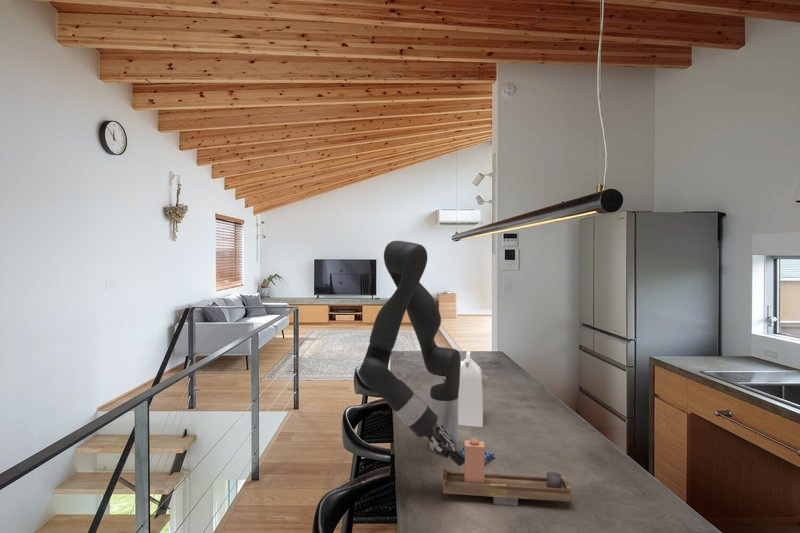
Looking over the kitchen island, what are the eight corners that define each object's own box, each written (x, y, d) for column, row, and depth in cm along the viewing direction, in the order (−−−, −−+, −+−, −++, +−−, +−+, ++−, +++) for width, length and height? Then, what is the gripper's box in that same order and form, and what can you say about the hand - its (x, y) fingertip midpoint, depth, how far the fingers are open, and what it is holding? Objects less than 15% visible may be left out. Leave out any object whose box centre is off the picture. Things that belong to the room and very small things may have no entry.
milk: (482, 426, 158) (483, 357, 157) (451, 424, 160) (452, 355, 159) (483, 414, 169) (483, 350, 169) (454, 412, 172) (454, 348, 171)
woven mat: (466, 449, 140) (466, 443, 140) (495, 459, 133) (496, 453, 133) (449, 461, 132) (449, 454, 132) (479, 472, 125) (479, 465, 125)
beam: (443, 487, 116) (443, 462, 116) (564, 495, 112) (564, 469, 112) (442, 501, 110) (443, 474, 110) (571, 509, 106) (571, 482, 106)
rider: (464, 476, 114) (464, 436, 114) (483, 478, 113) (483, 437, 113) (464, 484, 110) (465, 442, 110) (484, 485, 110) (484, 443, 110)
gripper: (425, 414, 106) (474, 465, 105) (427, 396, 119) (471, 442, 118) (403, 434, 107) (452, 485, 106) (408, 414, 120) (452, 459, 119)
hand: (462, 462), depth 112 cm, fingers closed
